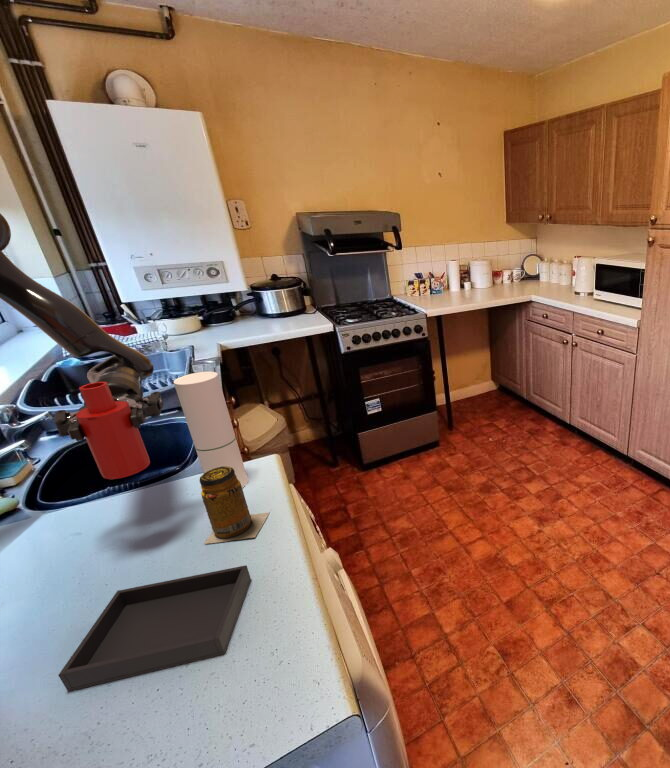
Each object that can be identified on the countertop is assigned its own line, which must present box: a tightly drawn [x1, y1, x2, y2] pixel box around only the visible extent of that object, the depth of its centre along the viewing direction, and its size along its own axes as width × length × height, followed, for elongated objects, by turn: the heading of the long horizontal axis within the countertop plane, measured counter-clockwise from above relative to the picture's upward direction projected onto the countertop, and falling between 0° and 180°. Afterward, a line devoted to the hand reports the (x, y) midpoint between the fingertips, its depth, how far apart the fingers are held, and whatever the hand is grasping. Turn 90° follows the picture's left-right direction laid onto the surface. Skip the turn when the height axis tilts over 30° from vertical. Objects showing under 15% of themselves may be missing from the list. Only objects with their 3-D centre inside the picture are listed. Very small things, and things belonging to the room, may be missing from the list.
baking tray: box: [58, 565, 252, 692], centre depth 61 cm, size 17×13×3 cm
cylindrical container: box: [173, 371, 249, 489], centre depth 89 cm, size 7×7×25 cm
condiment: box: [199, 466, 270, 545], centre depth 79 cm, size 7×8×12 cm
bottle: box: [76, 382, 151, 480], centre depth 70 cm, size 6×6×15 cm
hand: (107, 428), depth 68 cm, fingers closed on bottle, 6 cm apart
